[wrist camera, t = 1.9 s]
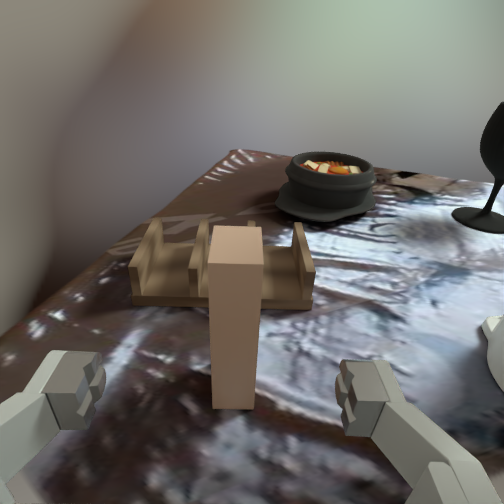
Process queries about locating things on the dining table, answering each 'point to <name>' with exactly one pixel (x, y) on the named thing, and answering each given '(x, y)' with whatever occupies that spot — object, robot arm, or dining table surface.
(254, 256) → the beige rectangular block
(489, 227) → the wine glass
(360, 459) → the dining table surface
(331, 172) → the casserole
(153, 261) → the drying rack
